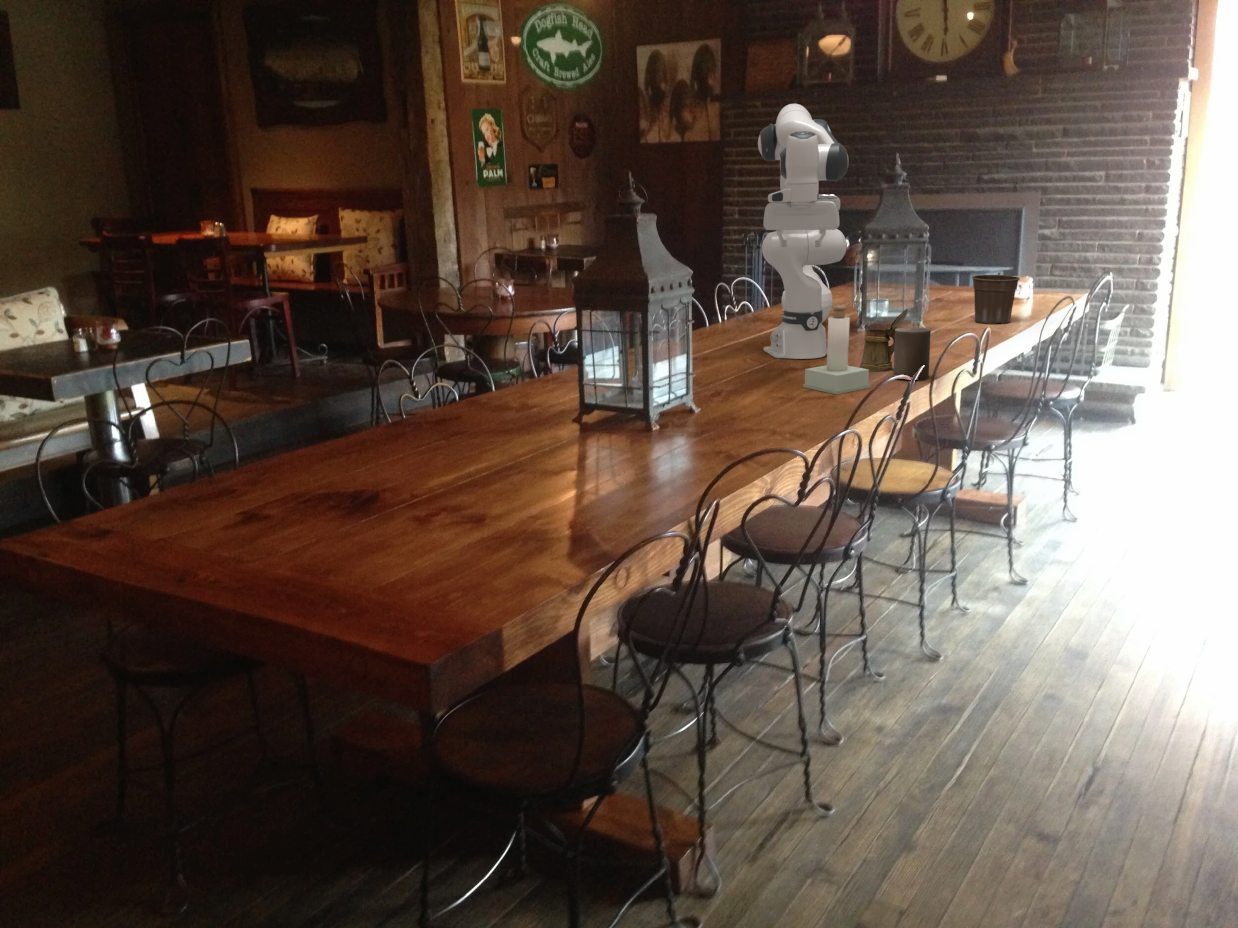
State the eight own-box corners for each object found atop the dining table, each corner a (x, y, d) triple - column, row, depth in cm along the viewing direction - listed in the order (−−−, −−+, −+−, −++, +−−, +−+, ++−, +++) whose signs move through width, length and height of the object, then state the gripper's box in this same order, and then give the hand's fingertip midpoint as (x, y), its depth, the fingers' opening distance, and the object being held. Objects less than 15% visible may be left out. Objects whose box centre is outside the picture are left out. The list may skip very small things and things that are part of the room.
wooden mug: (899, 374, 321) (901, 311, 316) (855, 369, 329) (857, 308, 324) (911, 368, 328) (913, 307, 323) (867, 364, 336) (869, 304, 331)
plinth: (802, 387, 307) (803, 369, 306) (836, 380, 314) (836, 363, 313) (836, 394, 297) (837, 376, 296) (870, 387, 304) (871, 369, 303)
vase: (772, 323, 416) (773, 241, 408) (817, 320, 421) (819, 239, 413) (794, 330, 399) (796, 245, 391) (841, 326, 404) (843, 242, 396)
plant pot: (1021, 320, 408) (1024, 275, 403) (1010, 326, 395) (1013, 280, 390) (976, 317, 416) (978, 273, 412) (964, 324, 403) (966, 278, 399)
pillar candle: (929, 381, 310) (932, 327, 306) (893, 380, 312) (895, 327, 308) (927, 375, 319) (930, 322, 315) (892, 374, 321) (894, 322, 317)
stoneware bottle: (822, 368, 306) (824, 305, 301) (840, 366, 308) (843, 304, 303) (833, 371, 301) (835, 308, 296) (851, 370, 303) (854, 307, 298)
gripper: (842, 193, 300) (841, 246, 304) (767, 194, 307) (767, 246, 311) (838, 194, 295) (837, 248, 299) (762, 195, 302) (761, 248, 305)
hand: (800, 247), depth 305 cm, fingers open, 8 cm apart
